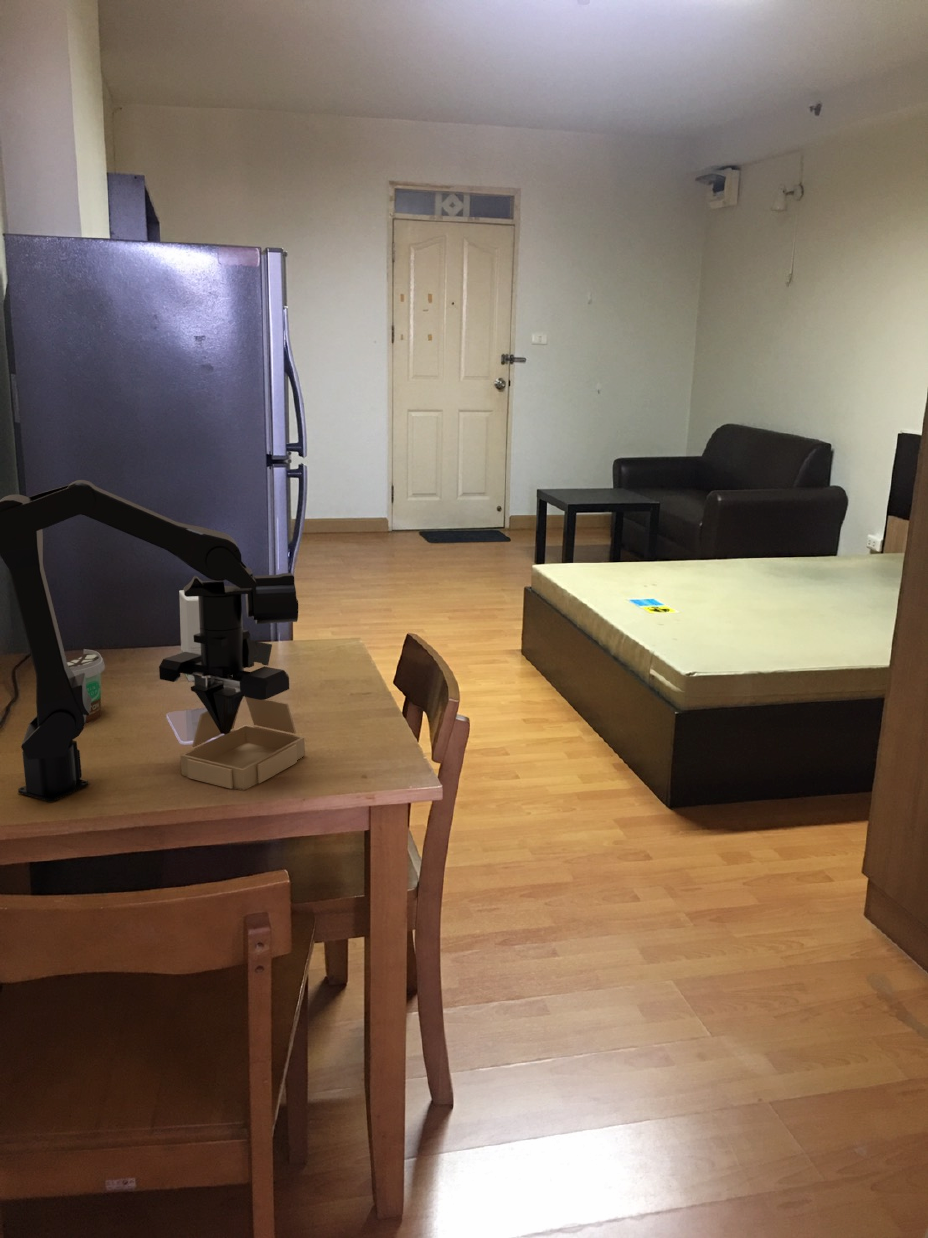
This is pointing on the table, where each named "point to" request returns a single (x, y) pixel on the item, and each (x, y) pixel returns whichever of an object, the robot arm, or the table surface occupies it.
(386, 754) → the table surface
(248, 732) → the carton
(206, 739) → the left flap
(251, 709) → the front flap
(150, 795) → the table surface
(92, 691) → the food container
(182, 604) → the skincare box
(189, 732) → the mobile phone
